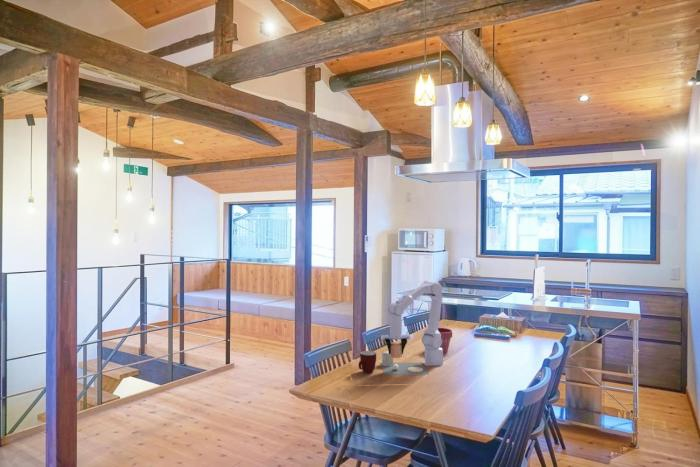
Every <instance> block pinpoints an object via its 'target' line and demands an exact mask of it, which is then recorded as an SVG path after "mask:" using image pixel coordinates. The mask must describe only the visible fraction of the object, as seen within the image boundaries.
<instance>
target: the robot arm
mask: <svg viewBox="0 0 700 467" xmlns="http://www.w3.org/2000/svg"><path fill="white" fill-rule="evenodd" d="M443 288H444V287H443V286H442V285H441V283H439V282H435V281H429V280H424V281H423V282H422V283H420V284H419V286H418V287H417V288H416V289H415V290H413V291H412V292H411V293H410V294H403V295H402V297H401V298H399V299H397V300H395V302H392V303H390V304H389V306H388V307H387V311H388V313H389V317H390V319H389V321H390V323H389V328H390V330H389V331H390V332H389V334H384V335H383V334H382V335H381V338H380V339H381V340H382V341H384V342H385V344H386V347H387V351H389V354H391V349H390V347H391V343H392V342H391V340H400V343H401V344H402V355H404V351H405V347H406V345H407V343H408V341H409V340H411V334H402V331H403V330H402V327H403V326H402V322H403V321H402V320H403V319H402V317H403V316H402V315H403V314H404V312H405V310H406V309H408V308H409V307H410V306H411V305H413V304H414V300H416V299H418V298H419V297H421V296H422V295H424V294H426V295H427V296H429V298H430V299H431V300H430V301H431V302H430V311H429V316H428V325H427V328H426V329H425V330H424V331H423V335H422V336H421V343H422V345H423V347H424V360H423V361H422V363H423V364H424V365H425V366H444V353H443V349H442V348H441V347H440V346H441V343H442V341H441V334H440V332H439V331H438V328H440V327H439V325H440V320H441V319H440V318H441V317H440V316H441V313H442V312H441V310H442V303H443Z"/></svg>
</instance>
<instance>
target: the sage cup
mask: <svg viewBox="0 0 700 467" xmlns="http://www.w3.org/2000/svg"><path fill="white" fill-rule="evenodd" d="M381 363H382V366H393V363H394V358H393V357H390V354H389V351H388V350H384V351H382V352H381Z"/></svg>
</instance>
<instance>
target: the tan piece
mask: <svg viewBox="0 0 700 467" xmlns="http://www.w3.org/2000/svg"><path fill="white" fill-rule="evenodd" d="M390 349H391V354H390V357H393V359H400V358H402V357H403V354H402V344H401V342H398V341H395V342H394V341H393V342H391V347H390Z"/></svg>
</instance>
